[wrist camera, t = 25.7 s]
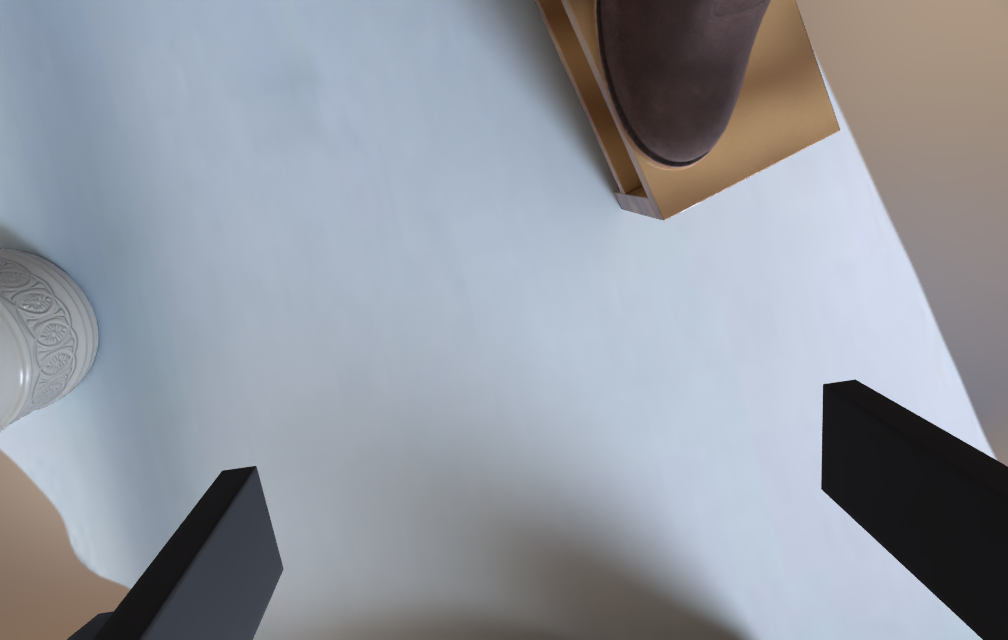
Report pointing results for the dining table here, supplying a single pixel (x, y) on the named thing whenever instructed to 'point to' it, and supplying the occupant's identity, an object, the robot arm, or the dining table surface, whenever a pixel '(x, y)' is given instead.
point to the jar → (41, 334)
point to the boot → (674, 71)
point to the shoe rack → (751, 129)
